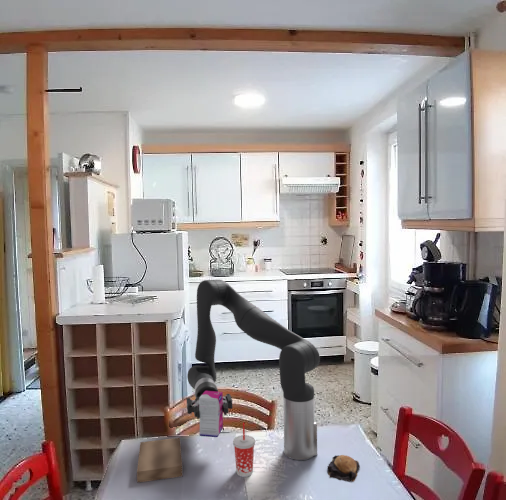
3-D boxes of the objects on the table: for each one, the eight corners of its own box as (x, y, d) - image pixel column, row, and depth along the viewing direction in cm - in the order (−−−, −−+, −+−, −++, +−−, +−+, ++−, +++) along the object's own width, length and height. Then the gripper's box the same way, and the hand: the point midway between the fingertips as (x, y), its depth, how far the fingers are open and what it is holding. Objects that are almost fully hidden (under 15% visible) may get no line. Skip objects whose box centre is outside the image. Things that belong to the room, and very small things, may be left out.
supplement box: (218, 437, 120) (217, 398, 119) (199, 436, 121) (197, 397, 121) (224, 428, 126) (222, 391, 125) (205, 427, 127) (204, 390, 126)
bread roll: (332, 458, 123) (331, 446, 123) (361, 464, 120) (361, 451, 120) (324, 478, 113) (324, 465, 113) (356, 485, 110) (356, 471, 110)
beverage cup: (251, 480, 112) (250, 429, 111) (230, 476, 114) (229, 426, 113) (258, 467, 118) (257, 419, 117) (238, 464, 120) (237, 416, 119)
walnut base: (180, 446, 130) (180, 437, 130) (182, 476, 114) (182, 465, 114) (140, 451, 127) (140, 442, 127) (137, 482, 112) (136, 471, 112)
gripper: (184, 383, 135) (186, 403, 119) (227, 379, 138) (236, 398, 122) (184, 406, 136) (187, 429, 120) (228, 401, 139) (236, 423, 123)
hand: (212, 413), depth 121 cm, fingers closed on supplement box, 7 cm apart
